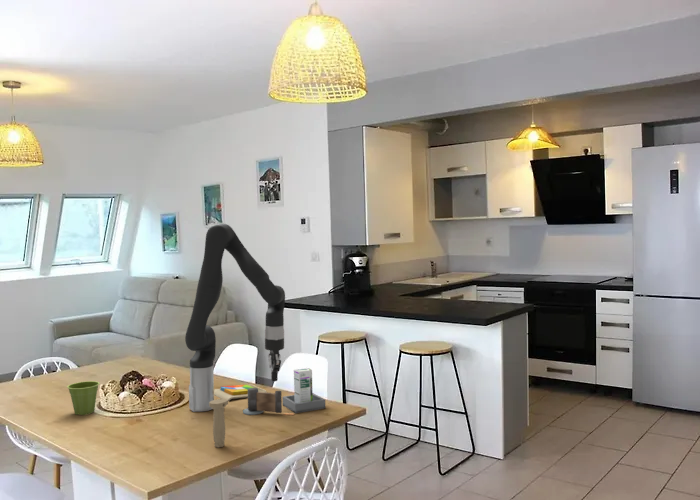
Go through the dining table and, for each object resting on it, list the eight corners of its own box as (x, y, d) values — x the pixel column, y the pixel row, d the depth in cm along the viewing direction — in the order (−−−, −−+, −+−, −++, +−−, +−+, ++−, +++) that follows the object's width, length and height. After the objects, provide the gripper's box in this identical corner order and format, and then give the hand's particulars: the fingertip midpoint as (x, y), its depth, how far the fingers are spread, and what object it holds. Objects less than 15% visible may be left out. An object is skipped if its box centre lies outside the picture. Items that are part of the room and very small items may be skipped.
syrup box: (299, 407, 243) (299, 371, 243) (294, 404, 248) (293, 368, 248) (313, 405, 246) (312, 369, 245) (306, 402, 251) (306, 366, 250)
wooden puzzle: (267, 395, 267) (267, 387, 267) (227, 403, 256) (227, 394, 256) (249, 387, 281) (249, 380, 281) (210, 394, 270) (210, 386, 270)
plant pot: (89, 406, 251) (88, 379, 250) (106, 411, 244) (105, 383, 244) (61, 414, 241) (60, 385, 241) (78, 419, 234) (77, 390, 234)
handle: (207, 447, 201) (206, 402, 201) (221, 442, 207) (220, 397, 206) (217, 450, 199) (216, 404, 198) (231, 444, 204) (230, 400, 203)
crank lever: (246, 410, 240) (245, 390, 239) (251, 407, 243) (250, 387, 243) (278, 413, 235) (278, 393, 234) (283, 410, 238) (283, 390, 238)
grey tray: (295, 413, 238) (295, 404, 238) (282, 405, 250) (282, 396, 249) (325, 408, 244) (325, 399, 244) (311, 400, 256) (311, 392, 256)
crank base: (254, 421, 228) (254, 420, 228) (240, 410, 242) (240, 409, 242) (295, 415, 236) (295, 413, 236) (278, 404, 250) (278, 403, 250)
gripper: (261, 334, 245) (261, 377, 245) (268, 340, 232) (268, 385, 233) (280, 333, 247) (280, 376, 248) (287, 339, 235) (287, 384, 235)
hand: (274, 380), depth 240 cm, fingers closed
